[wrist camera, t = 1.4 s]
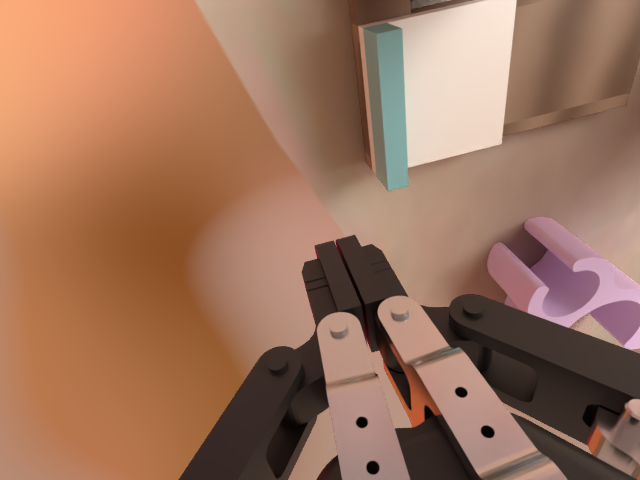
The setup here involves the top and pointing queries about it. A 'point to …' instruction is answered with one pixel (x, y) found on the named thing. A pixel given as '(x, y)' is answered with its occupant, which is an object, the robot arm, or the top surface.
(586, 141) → the top surface
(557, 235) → the clip
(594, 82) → the tan flat frame
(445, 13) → the slide cover
